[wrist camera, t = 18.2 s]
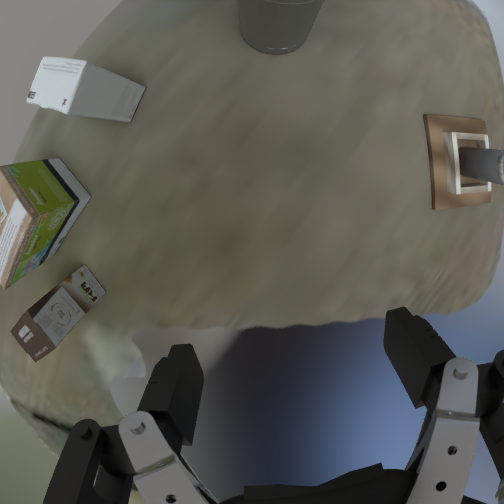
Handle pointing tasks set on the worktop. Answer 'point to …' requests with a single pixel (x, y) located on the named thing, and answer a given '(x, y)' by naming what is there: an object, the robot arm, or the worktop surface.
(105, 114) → the skincare box
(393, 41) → the worktop surface
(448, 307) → the worktop surface
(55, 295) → the coffee box
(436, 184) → the mount board
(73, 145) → the worktop surface
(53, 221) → the tea box
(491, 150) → the dark grey cylinder
